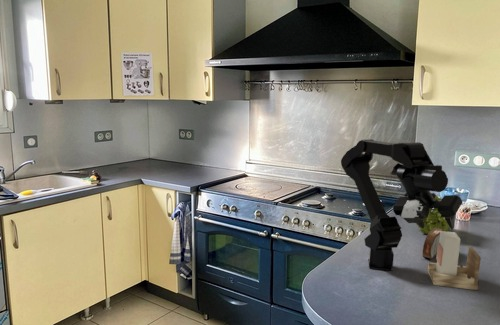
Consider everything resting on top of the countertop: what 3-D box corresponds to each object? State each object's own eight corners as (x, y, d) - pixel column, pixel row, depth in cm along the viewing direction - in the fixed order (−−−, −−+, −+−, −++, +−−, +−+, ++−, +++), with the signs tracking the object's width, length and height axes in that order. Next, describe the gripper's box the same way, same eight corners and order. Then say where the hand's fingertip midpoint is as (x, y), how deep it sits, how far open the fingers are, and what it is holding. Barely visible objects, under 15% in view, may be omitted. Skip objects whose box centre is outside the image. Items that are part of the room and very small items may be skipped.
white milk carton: (438, 278, 117) (443, 237, 115) (434, 269, 123) (438, 230, 121) (455, 280, 116) (460, 239, 114) (450, 271, 122) (455, 232, 120)
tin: (434, 247, 145) (436, 224, 143) (443, 249, 143) (446, 226, 141) (420, 260, 133) (423, 235, 132) (430, 262, 131) (433, 237, 130)
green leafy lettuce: (471, 230, 149) (443, 203, 145) (434, 252, 156) (406, 227, 152) (456, 202, 165) (431, 177, 161) (423, 223, 172) (398, 199, 168)
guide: (433, 284, 116) (437, 254, 114) (427, 270, 126) (430, 241, 124) (477, 290, 113) (481, 259, 112) (467, 274, 123) (471, 246, 122)
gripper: (373, 204, 119) (397, 245, 123) (433, 203, 104) (458, 250, 108) (391, 180, 124) (413, 220, 129) (451, 176, 109) (474, 221, 113)
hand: (437, 227), depth 120 cm, fingers open, 9 cm apart
